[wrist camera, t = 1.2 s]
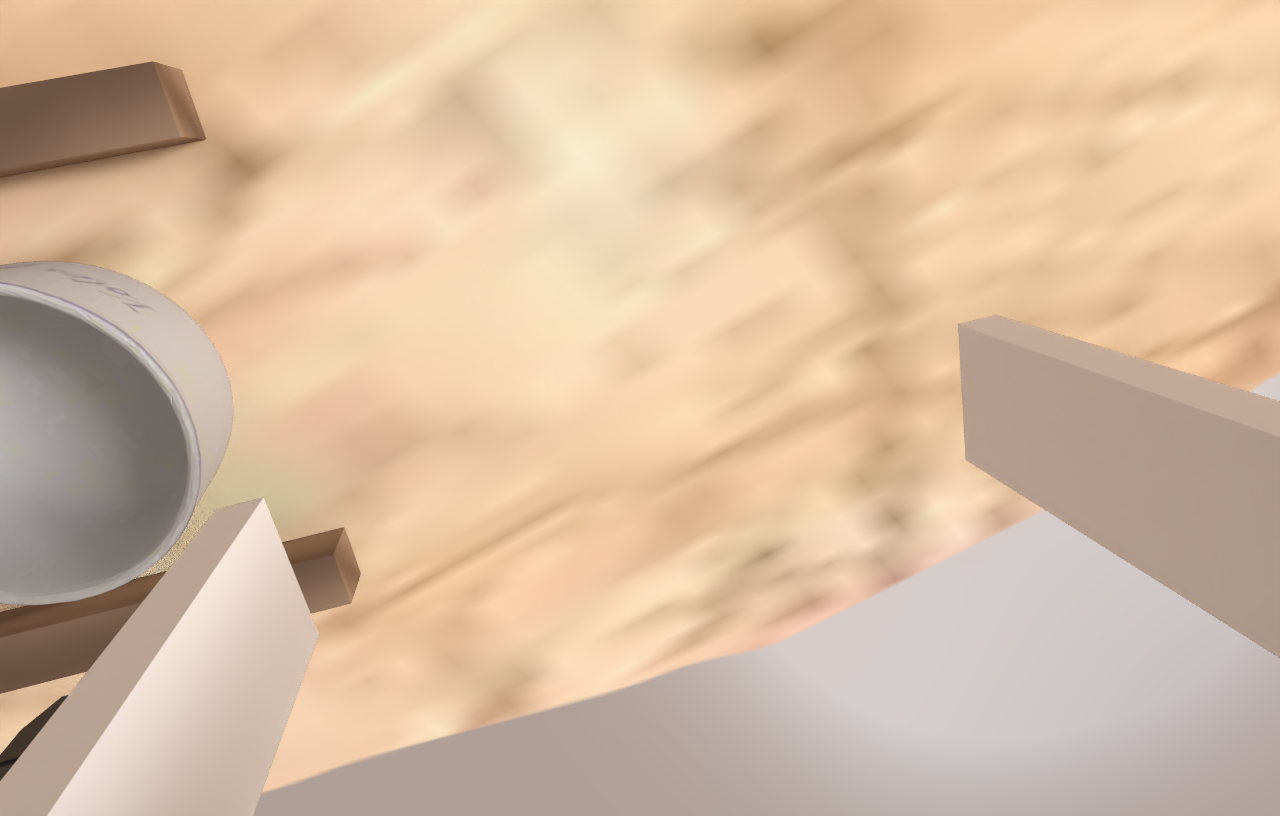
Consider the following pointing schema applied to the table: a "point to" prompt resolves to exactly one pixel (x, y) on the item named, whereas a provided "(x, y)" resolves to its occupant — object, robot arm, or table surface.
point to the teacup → (99, 428)
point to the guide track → (78, 132)
